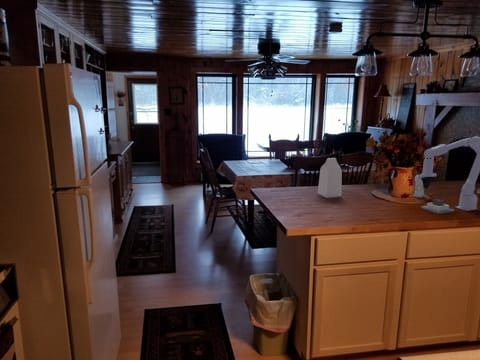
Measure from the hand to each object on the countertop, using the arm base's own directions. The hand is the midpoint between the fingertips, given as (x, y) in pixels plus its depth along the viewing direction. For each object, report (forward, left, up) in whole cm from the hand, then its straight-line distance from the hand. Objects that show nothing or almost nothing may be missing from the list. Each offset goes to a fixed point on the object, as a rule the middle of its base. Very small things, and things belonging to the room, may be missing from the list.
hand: (425, 188), depth 237 cm
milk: (+46, -39, -10) cm, 61 cm away
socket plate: (+6, +15, -9) cm, 19 cm away
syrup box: (-8, -12, -10) cm, 17 cm away
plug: (+6, +15, -8) cm, 18 cm away
